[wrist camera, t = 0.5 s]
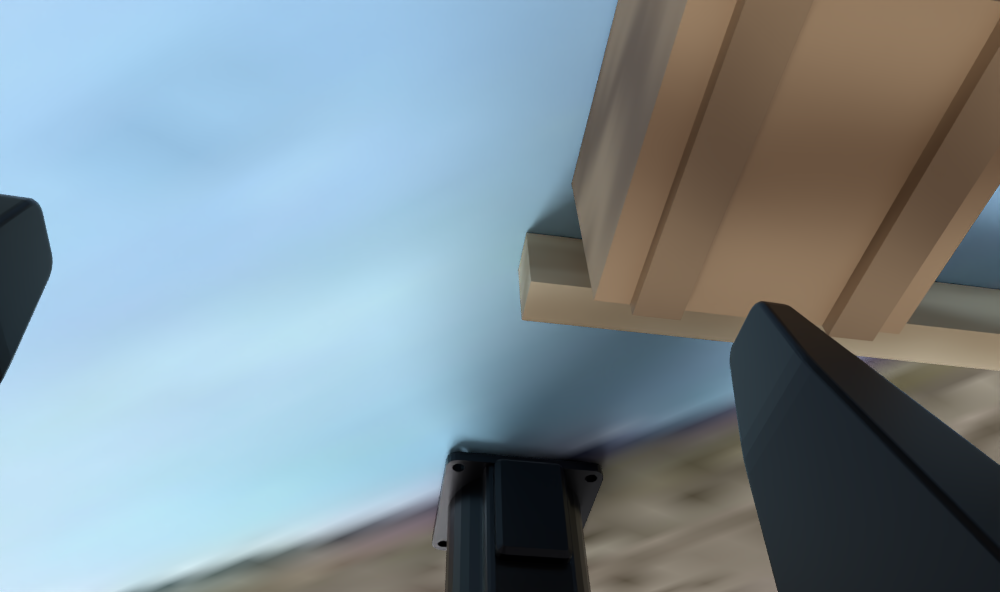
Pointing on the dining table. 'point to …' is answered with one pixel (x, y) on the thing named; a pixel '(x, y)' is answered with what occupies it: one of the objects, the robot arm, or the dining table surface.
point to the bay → (569, 300)
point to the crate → (788, 155)
